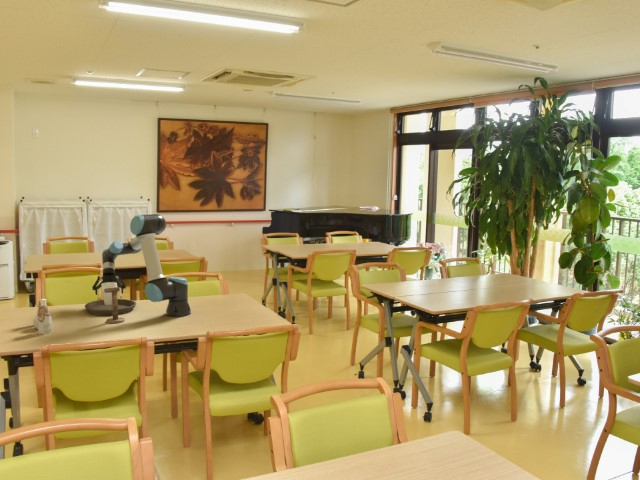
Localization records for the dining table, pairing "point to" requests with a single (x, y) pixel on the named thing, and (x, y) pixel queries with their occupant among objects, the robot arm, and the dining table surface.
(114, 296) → the walnut post
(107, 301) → the foam cup
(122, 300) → the plant saucer
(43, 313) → the cosmetic set
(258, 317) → the dining table surface
